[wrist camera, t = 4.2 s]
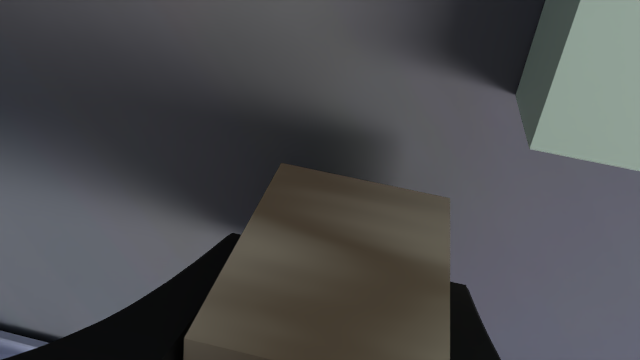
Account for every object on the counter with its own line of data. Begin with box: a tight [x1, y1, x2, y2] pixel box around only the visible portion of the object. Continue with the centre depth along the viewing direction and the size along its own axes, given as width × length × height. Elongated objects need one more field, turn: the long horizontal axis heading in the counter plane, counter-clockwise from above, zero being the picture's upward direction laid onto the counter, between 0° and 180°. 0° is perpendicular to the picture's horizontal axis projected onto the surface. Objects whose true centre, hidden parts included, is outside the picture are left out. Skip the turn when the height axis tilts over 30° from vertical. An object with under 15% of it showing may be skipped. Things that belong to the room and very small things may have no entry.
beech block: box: [183, 163, 450, 360], centre depth 12 cm, size 4×4×6 cm
